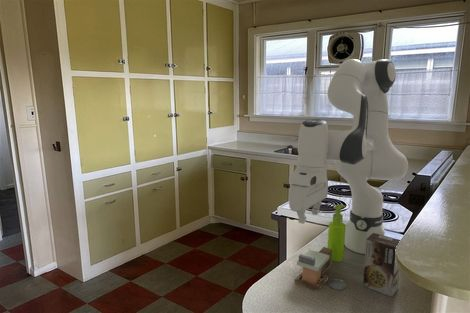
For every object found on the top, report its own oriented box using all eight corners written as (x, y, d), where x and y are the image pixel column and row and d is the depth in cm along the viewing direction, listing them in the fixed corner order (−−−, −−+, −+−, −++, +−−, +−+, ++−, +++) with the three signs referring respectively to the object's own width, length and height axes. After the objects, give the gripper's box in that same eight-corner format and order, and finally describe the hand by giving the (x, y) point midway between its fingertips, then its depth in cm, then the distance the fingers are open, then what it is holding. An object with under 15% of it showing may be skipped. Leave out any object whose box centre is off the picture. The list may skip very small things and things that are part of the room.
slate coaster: (331, 278, 110) (331, 277, 110) (348, 284, 107) (348, 282, 107) (325, 286, 106) (325, 284, 106) (343, 292, 103) (343, 290, 103)
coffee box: (398, 288, 105) (403, 240, 102) (391, 297, 100) (397, 247, 97) (369, 277, 111) (373, 231, 108) (361, 285, 106) (365, 238, 103)
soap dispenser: (347, 256, 125) (351, 205, 121) (338, 263, 120) (341, 210, 117) (333, 251, 129) (336, 201, 126) (323, 257, 125) (326, 206, 121)
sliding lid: (309, 252, 115) (309, 244, 114) (329, 258, 111) (329, 249, 110) (296, 264, 107) (297, 255, 106) (317, 271, 103) (318, 261, 102)
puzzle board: (316, 260, 123) (317, 245, 121) (337, 266, 118) (338, 251, 117) (294, 282, 108) (295, 265, 107) (318, 290, 104) (319, 273, 102)
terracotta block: (307, 275, 112) (308, 259, 111) (320, 280, 110) (321, 263, 108) (301, 281, 109) (302, 264, 107) (315, 286, 106) (316, 268, 105)
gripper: (315, 167, 110) (313, 207, 113) (285, 178, 94) (284, 225, 96) (334, 170, 107) (331, 211, 109) (306, 182, 90) (304, 230, 93)
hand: (309, 218), depth 103 cm, fingers open, 8 cm apart
